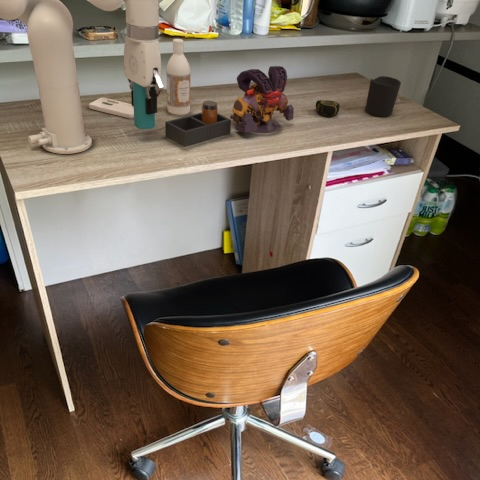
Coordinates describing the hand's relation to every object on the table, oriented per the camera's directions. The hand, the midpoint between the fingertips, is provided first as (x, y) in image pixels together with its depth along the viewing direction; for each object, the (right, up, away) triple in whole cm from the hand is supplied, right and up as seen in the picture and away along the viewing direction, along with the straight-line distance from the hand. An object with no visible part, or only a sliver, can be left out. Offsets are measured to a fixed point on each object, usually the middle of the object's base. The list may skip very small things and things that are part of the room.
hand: (144, 108), depth 136 cm
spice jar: (+16, -1, +13) cm, 21 cm away
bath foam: (+6, +9, +25) cm, 27 cm away
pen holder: (+70, +13, +37) cm, 80 cm away
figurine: (+30, +2, +20) cm, 36 cm away
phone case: (-12, +8, +23) cm, 27 cm away
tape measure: (+52, +11, +33) cm, 63 cm away
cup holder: (+13, -3, +12) cm, 18 cm away
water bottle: (0, -3, +3) cm, 4 cm away
